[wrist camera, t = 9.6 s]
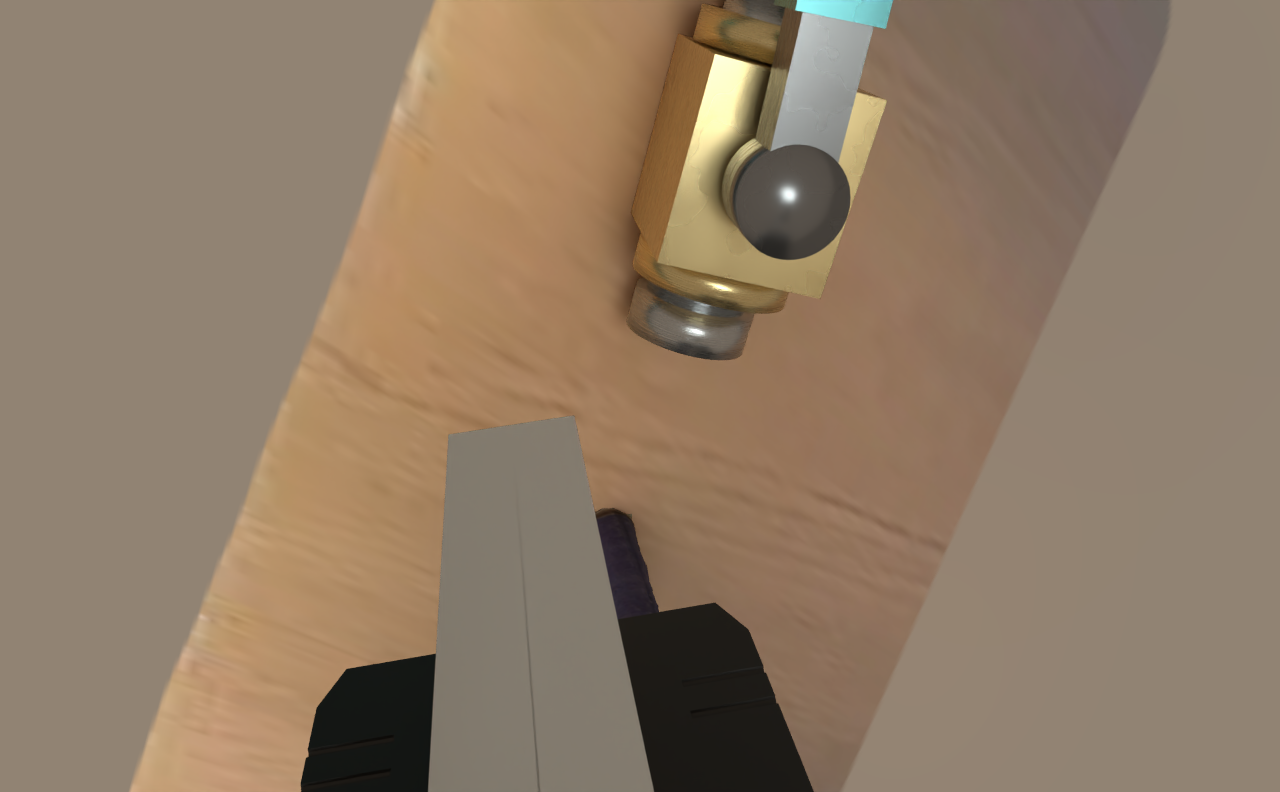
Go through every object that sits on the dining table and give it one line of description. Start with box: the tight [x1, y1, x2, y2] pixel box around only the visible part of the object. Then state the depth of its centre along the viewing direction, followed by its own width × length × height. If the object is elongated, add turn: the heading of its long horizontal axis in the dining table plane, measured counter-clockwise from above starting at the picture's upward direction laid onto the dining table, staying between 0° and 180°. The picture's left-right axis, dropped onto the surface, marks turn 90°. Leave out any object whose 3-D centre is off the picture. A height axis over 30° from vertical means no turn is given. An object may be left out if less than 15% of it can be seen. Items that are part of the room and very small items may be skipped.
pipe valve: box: [626, 0, 887, 360], centre depth 40 cm, size 15×6×8 cm, turn 165°
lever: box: [722, 0, 893, 260], centre depth 33 cm, size 12×4×2 cm, turn 169°
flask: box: [595, 508, 659, 619], centre depth 45 cm, size 9×3×11 cm, turn 154°
